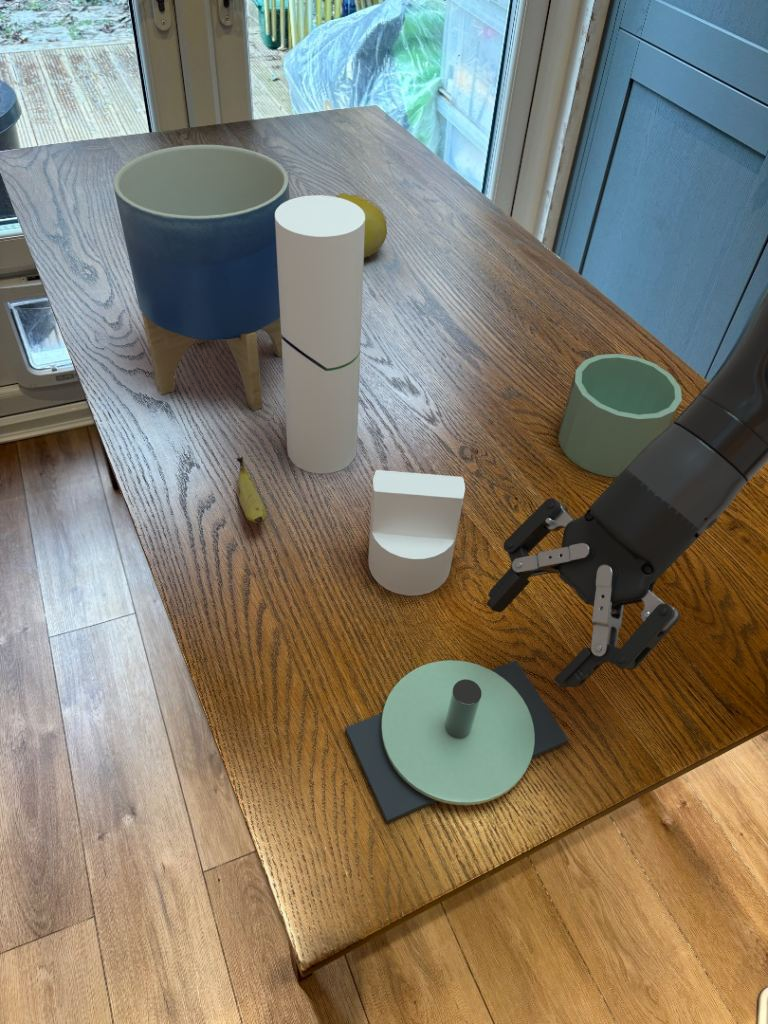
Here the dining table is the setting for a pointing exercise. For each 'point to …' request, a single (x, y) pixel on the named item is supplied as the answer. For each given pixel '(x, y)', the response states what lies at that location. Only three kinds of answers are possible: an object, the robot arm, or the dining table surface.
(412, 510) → the base with upright slab
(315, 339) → the container
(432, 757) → the lid
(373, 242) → the fruit
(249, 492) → the banana
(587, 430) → the pot
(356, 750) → the mat
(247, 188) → the planter
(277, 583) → the dining table surface
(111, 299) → the dining table surface
